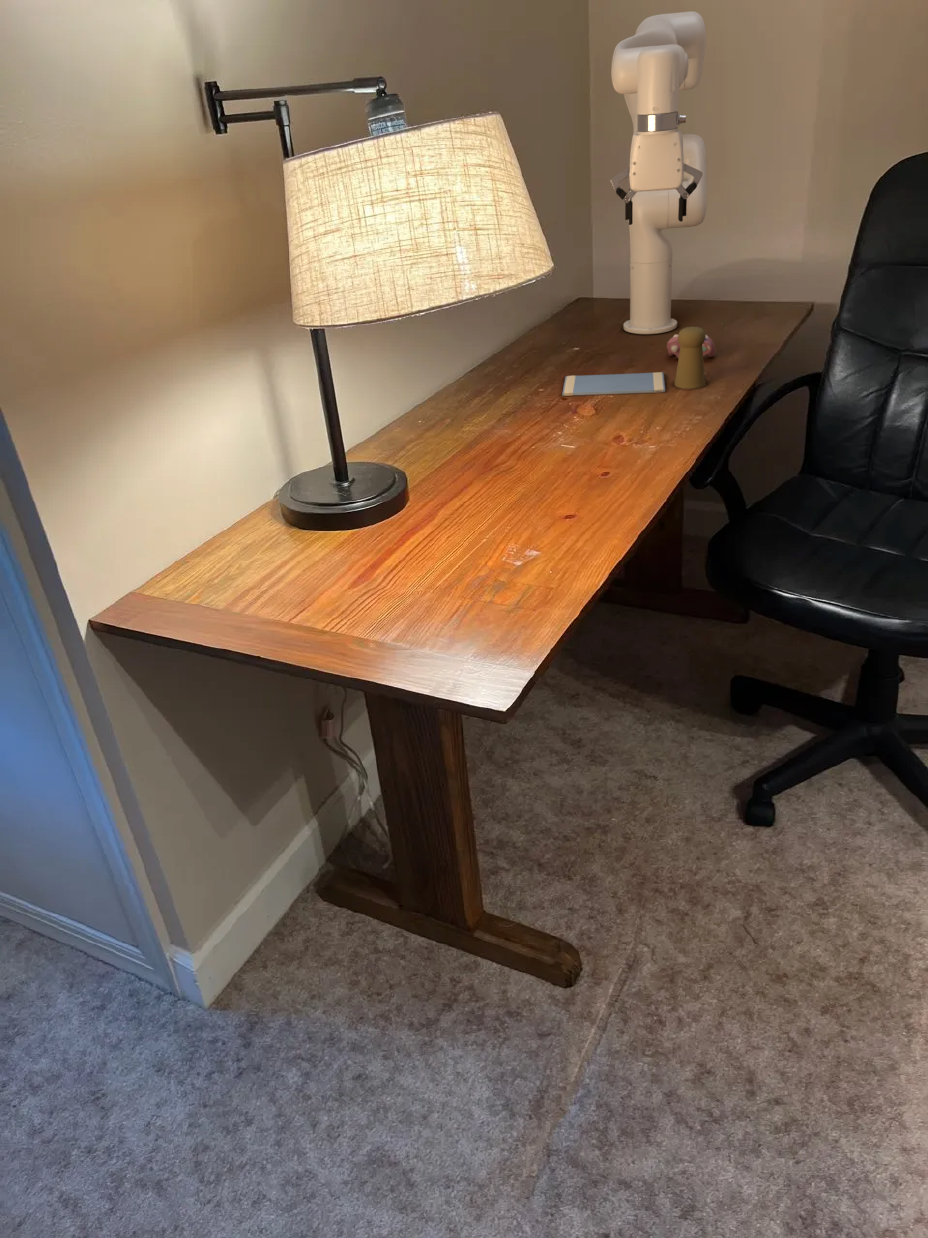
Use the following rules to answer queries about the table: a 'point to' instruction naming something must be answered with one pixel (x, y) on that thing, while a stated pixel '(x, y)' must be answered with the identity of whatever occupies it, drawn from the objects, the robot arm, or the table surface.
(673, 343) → the video game controller
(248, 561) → the table surface
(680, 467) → the table surface
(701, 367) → the olive tall tapered piece
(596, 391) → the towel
